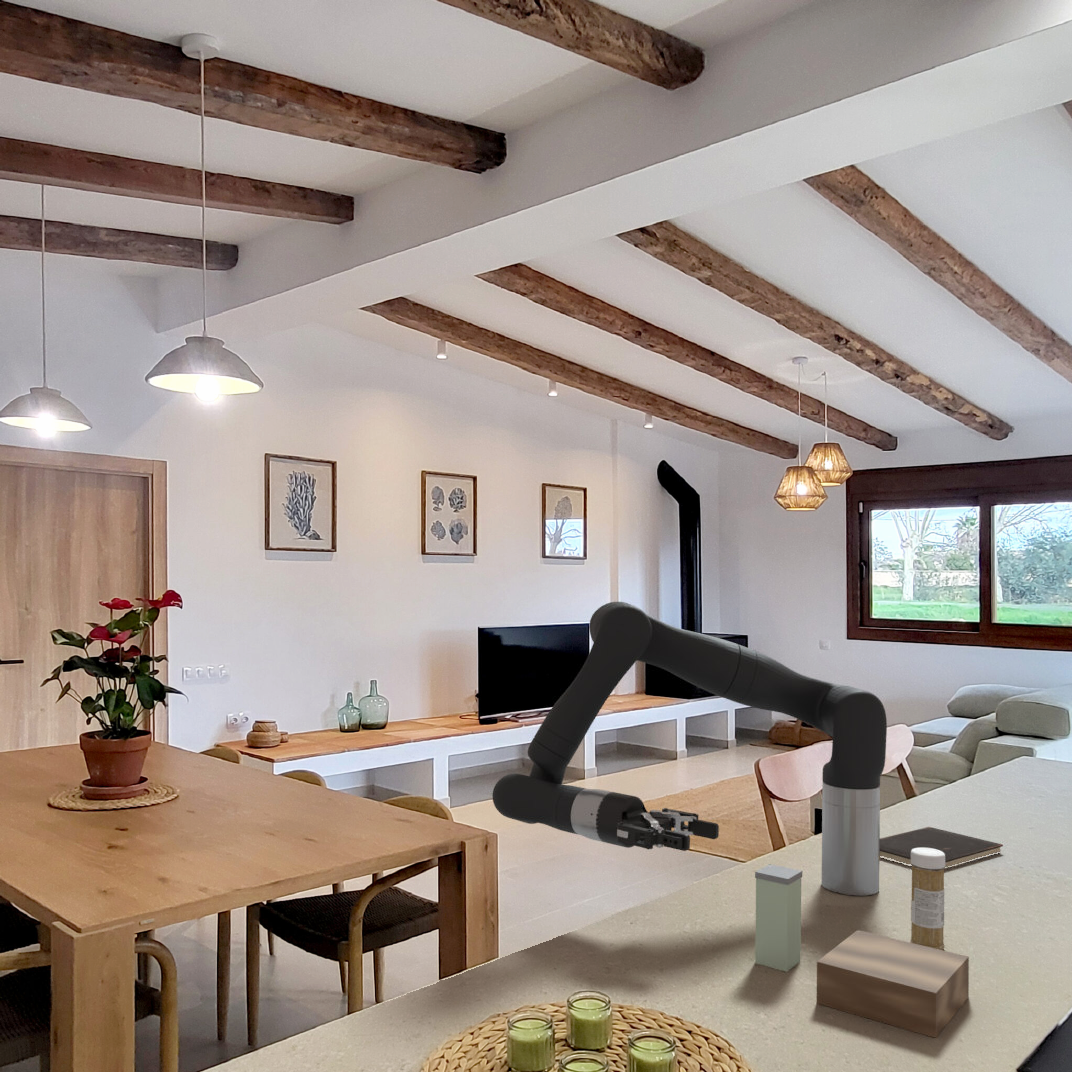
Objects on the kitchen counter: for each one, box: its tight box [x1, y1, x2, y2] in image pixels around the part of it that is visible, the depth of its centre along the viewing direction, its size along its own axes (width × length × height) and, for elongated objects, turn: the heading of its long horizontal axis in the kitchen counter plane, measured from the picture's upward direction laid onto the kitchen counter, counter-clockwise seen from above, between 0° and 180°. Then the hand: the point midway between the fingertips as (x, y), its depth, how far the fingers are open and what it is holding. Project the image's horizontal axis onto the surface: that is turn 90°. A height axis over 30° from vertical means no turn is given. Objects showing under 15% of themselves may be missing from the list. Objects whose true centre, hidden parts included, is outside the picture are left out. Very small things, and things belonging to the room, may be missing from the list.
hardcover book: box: [880, 826, 1004, 868], centre depth 188 cm, size 16×23×2 cm
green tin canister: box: [754, 863, 803, 972], centre depth 134 cm, size 5×5×12 cm
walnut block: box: [816, 929, 970, 1039], centre depth 123 cm, size 14×14×5 cm
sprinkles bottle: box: [910, 848, 946, 951], centre depth 141 cm, size 5×5×14 cm
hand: (703, 837), depth 141 cm, fingers open, 8 cm apart
